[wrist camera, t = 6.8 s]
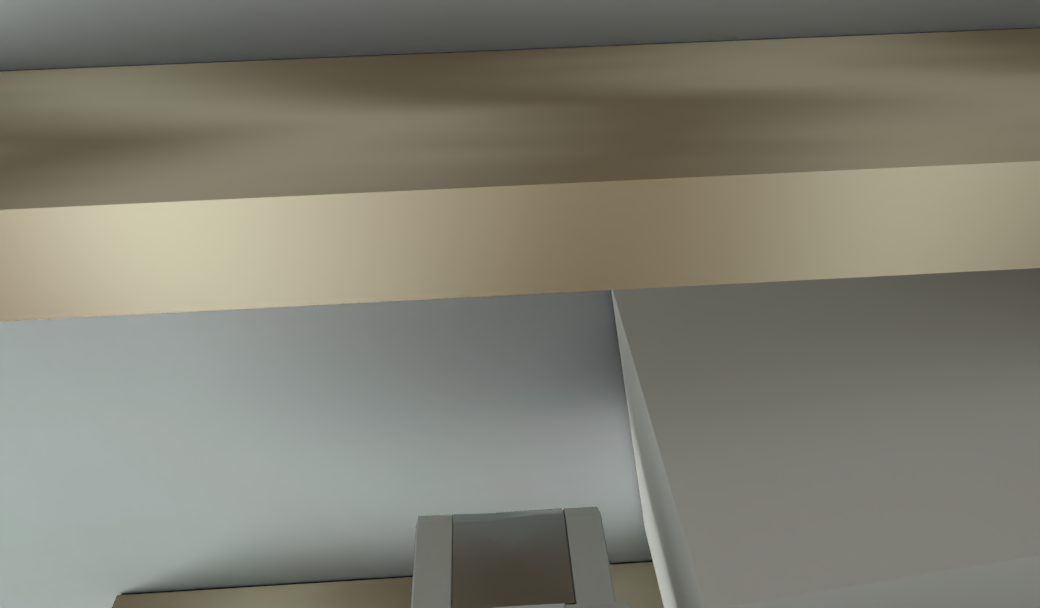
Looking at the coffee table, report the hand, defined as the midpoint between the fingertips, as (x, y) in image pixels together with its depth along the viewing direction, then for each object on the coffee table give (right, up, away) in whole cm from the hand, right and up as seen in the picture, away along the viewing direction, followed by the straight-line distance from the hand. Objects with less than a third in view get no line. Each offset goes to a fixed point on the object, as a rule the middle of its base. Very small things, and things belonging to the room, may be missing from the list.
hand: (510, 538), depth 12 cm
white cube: (+5, +2, +2) cm, 6 cm away
